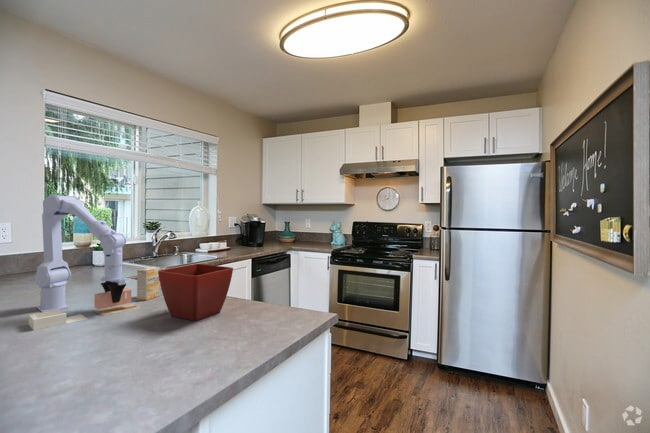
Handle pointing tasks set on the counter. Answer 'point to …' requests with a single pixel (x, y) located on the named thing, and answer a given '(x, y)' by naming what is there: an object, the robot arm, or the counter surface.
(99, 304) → the pink block
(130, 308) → the cork mat
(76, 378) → the counter surface
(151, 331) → the counter surface
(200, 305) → the plant pot
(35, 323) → the dispenser sleeve
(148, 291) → the supplement box
